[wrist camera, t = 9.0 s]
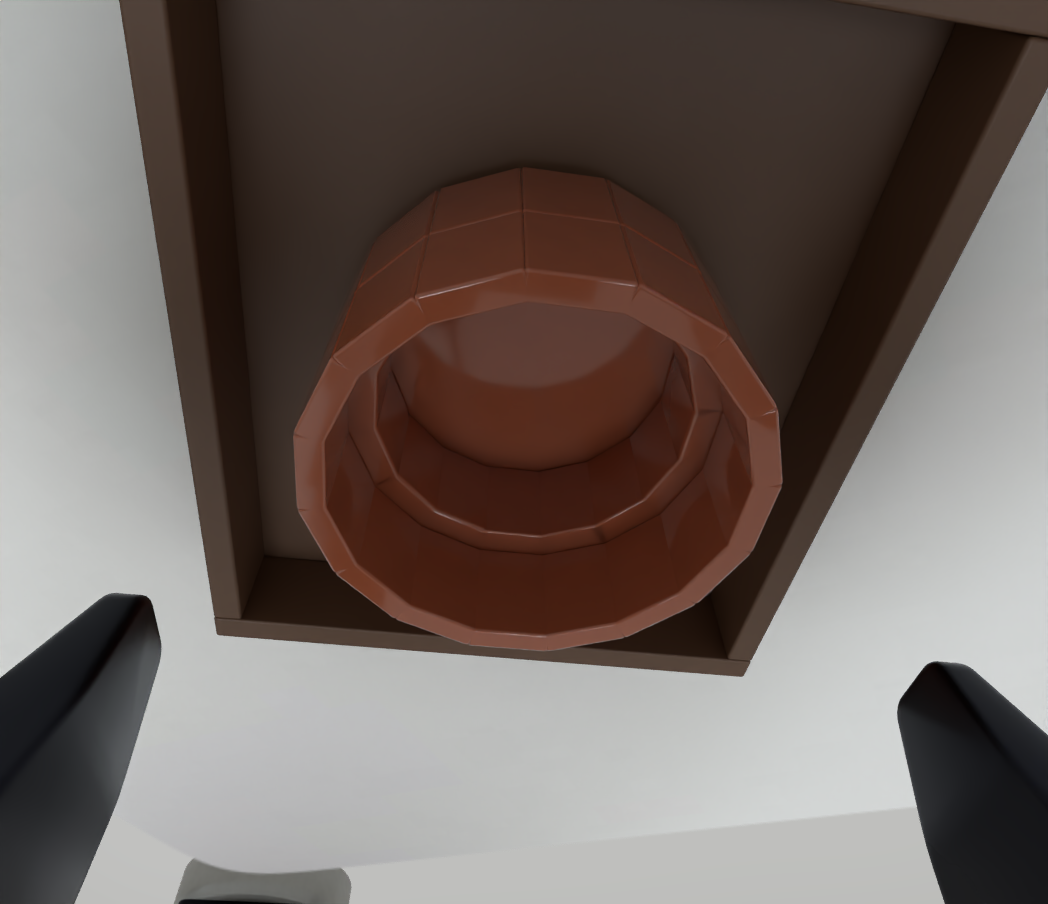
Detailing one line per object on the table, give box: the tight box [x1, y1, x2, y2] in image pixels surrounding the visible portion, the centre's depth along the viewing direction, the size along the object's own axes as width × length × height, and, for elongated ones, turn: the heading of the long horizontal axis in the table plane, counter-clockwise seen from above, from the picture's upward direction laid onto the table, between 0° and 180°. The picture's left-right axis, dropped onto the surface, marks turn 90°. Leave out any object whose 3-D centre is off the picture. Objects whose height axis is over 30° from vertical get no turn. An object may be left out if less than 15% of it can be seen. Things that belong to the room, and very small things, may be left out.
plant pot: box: [293, 167, 783, 651], centre depth 13 cm, size 7×7×4 cm
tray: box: [119, 0, 1048, 677], centre depth 14 cm, size 14×12×2 cm
